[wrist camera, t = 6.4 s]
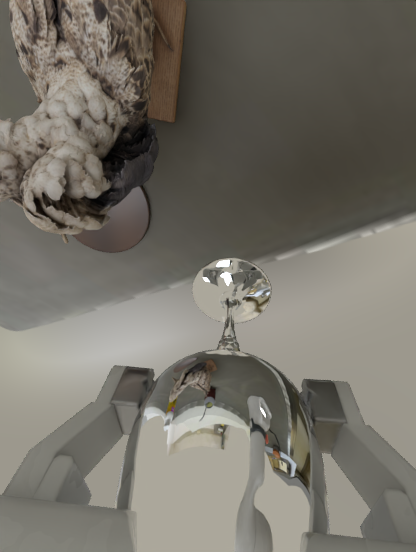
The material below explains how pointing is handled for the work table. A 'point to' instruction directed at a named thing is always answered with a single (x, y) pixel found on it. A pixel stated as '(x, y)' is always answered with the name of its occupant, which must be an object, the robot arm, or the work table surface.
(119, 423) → the robot arm
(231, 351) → the wineglass
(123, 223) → the coaster
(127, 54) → the stuffed bird
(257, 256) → the work table surface
